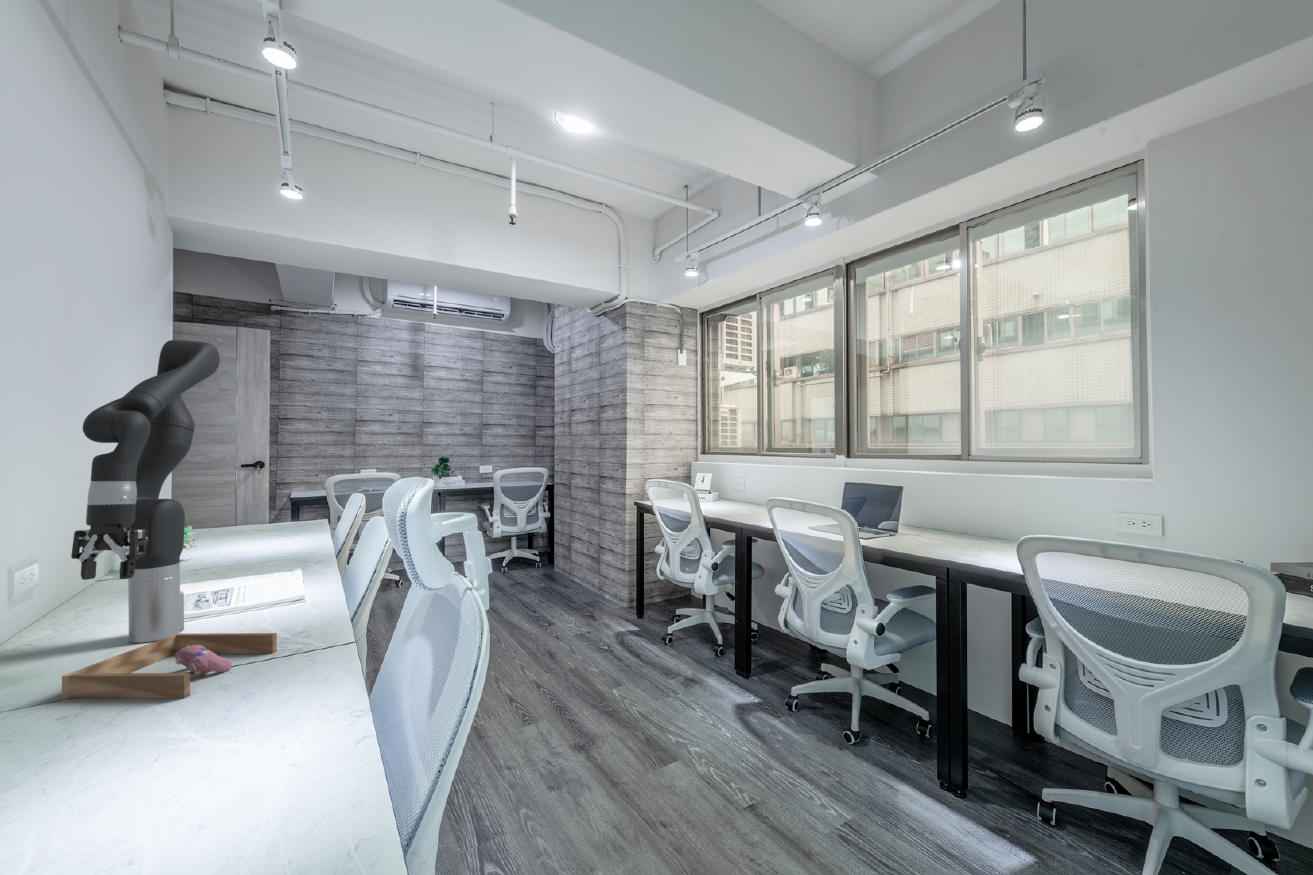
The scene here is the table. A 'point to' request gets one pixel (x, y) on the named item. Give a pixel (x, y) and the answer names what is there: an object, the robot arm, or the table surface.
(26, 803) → the table surface
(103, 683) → the wooden u-shaped frame
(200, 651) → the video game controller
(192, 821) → the table surface
